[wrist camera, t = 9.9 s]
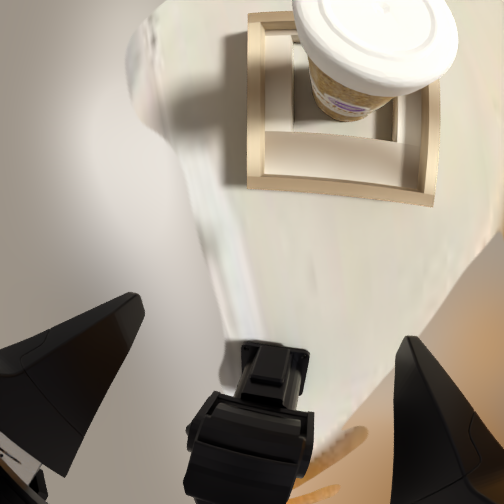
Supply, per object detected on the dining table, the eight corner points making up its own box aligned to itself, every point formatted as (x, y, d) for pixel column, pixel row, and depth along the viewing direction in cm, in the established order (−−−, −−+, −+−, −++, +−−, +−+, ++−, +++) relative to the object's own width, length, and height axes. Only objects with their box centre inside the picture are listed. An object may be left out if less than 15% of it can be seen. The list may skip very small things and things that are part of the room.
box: (418, 197, 17) (432, 207, 15) (257, 181, 20) (246, 188, 17) (420, 43, 13) (433, 30, 10) (258, 28, 15) (247, 13, 13)
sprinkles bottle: (313, 121, 18) (294, 80, 5) (310, 61, 16) (282, -54, 4) (378, 124, 16) (473, 102, 4) (375, 64, 15) (442, -34, 3)
